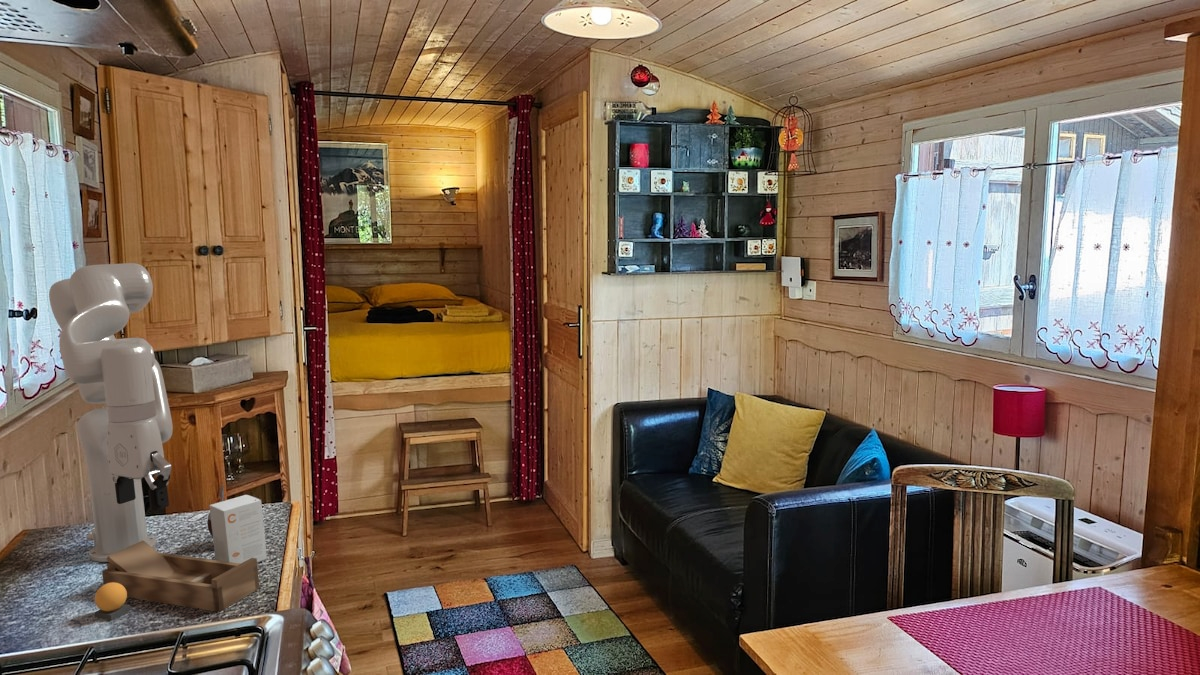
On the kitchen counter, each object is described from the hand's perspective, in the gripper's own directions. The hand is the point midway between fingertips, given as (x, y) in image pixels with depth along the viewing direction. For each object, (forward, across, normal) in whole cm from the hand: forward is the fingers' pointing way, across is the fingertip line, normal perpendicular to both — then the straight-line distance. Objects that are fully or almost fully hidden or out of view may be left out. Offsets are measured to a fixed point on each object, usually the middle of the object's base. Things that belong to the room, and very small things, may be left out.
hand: (143, 505), depth 148 cm
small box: (+20, -2, +20) cm, 28 cm away
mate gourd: (+19, -13, +26) cm, 35 cm away
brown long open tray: (+19, -1, +6) cm, 20 cm away
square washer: (+19, -4, -5) cm, 20 cm away
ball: (+16, -4, -5) cm, 17 cm away
